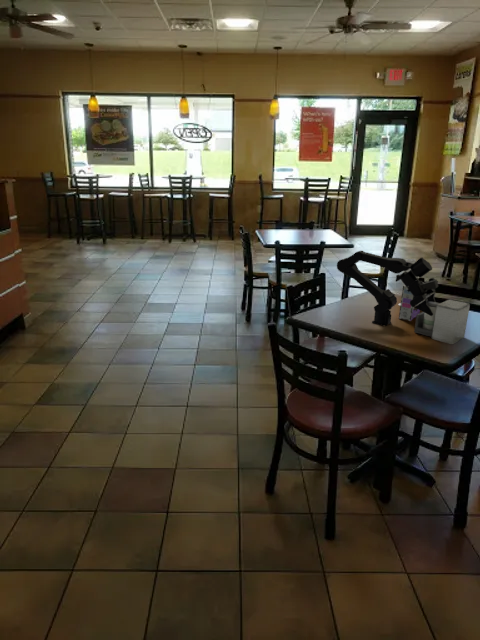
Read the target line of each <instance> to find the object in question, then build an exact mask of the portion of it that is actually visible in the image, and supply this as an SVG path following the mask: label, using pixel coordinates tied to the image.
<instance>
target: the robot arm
mask: <svg viewBox="0 0 480 640" xmlns="http://www.w3.org/2000/svg"><path fill="white" fill-rule="evenodd" d="M358 262H364V263H368V264H372V265H375V266H378V267H382V268H385V269H386V270H387V271H389V272H391V273H394V274H397V275H395V276H396V277H395V282H399V281H400V282H401V283H402V282H403V283H404V284H403V283H402V284H403V286H404V285H405V286H406V287H407V288H408V290H407V291H408V292H409V291H410V292H411V294H412V295H413V296H414V297H413V299H412V300H411V301H410V305H411V306H412V307H414V306H415V307H414V308H417V309H419V310H420V312H425V313H426V314H428V315H430V316H432V315H433V313H432V311H431V309H430V308H429V306H428V304H427V302H437V301H436V299H435V296H436V289H437V288H438V287H439V284H438V283H439V281H438V280H437V279H435V278H434V277H430V278H429V279H428V281H425V282H424V281H423V280H419V278H422V277H424V276H425V275H427V274H429V272H431V271H432V270H433V267H432V264H431V263H430V262H429V261H427V260H426V259H425V258H423V257H422V256H421V257H420V258H418V259H417V260H416V262H415V263H414V264H412V263H409V262H406V259H404V258H399V257H385V256H381V255H378V254H374V253H369V252H365V251H364V250H358V251H355V253H353V254H352V255H350V256H348V257H345V258H341V259H339V260H338V261H337V263H336V269H337V270H338V272H340V273H342V274H344V275H345V276H349V277H351V278H352V279H353V280H354V281H356V282H357V284H359V285H360V286H361V287H363V288H364V289H365V290H366V291H367V292H368V293H369V294H371V295H372V296H373V297H374V299H375V301H376V303H377V304H376V305H374V307H373V310H374V316H373V317H374V318H373V321H371V323H372V324H376V325H380V326H383V327H385V326H388V325H389V324H392V321H391V320H392V314H391V312H392V311H391V310H392V308H394V307H395V306H396V305H397V304H398V299H397V297H396V294H395V293H393V292H392V291H391V290H390V289H389V288H387V289H385V290H384V289H382V288H380V287H379V286H378V285H377V284H376V282H374V281H373V280H372V279H370V278H369V277H368V276H367V275H365V273H363V272H362V271H361V270H359V267H358V265H357V263H358ZM409 269H411V270H410V271H409V272H406V271H407V270H409ZM403 271H405V272H403ZM400 273H401V274H400ZM418 277H419V278H418ZM423 282H424V283H423ZM416 305H417V306H416Z"/></svg>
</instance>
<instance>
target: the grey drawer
mask: <svg viewBox="0 0 480 640" xmlns="http://www.w3.org/2000/svg"><path fill="white" fill-rule="evenodd" d="M424 314H425V312H423V311H421V312H420V313H419V314H417V316H416V317H415V324H414V331H413V332H414V333H416V334H420V335H423V336H427V337H431V338H432V334H433V331H431V330H427V329H423V328H422V327H423V320H424Z"/></svg>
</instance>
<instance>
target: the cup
mask: <svg viewBox="0 0 480 640" xmlns="http://www.w3.org/2000/svg"><path fill="white" fill-rule="evenodd" d="M440 303H441V302H437V301H436V302H427V304H428V306H429V308H430V309H431V311H432V313H433V315H432V316H430V315H428V314H426V313H425V314H424V320H423V327H422V328H423V329H427V330H431V331H433V328H434V321H435V315H436V308H437V305H438V304H440Z"/></svg>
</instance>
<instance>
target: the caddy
mask: <svg viewBox="0 0 480 640" xmlns="http://www.w3.org/2000/svg"><path fill="white" fill-rule="evenodd" d="M439 303H440V304H438V305H437V308H436V315H435V321H434V328H433V334H432V337H431V339H432V340H434V341H438V342H441V343H445V344H450V345H454V344H456V343H457V342H459V341H460V340H462V339H464V338H465V334H466V331H467V323H468V318H469V313H470V306H471V304H470V303H468V302H464V301H459V300H454V299H446V300H445V301H443V302H439Z"/></svg>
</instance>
